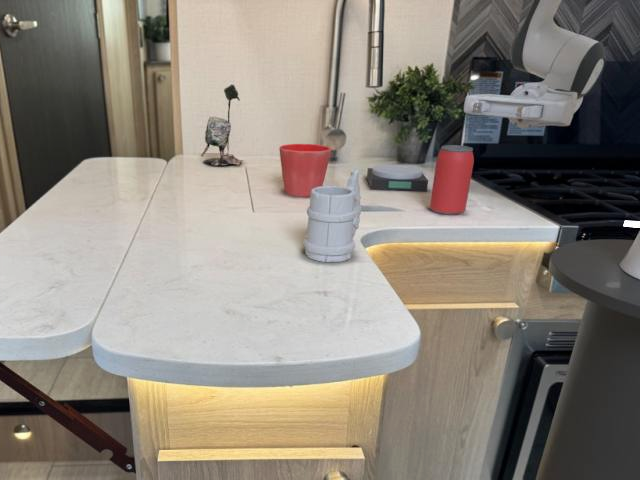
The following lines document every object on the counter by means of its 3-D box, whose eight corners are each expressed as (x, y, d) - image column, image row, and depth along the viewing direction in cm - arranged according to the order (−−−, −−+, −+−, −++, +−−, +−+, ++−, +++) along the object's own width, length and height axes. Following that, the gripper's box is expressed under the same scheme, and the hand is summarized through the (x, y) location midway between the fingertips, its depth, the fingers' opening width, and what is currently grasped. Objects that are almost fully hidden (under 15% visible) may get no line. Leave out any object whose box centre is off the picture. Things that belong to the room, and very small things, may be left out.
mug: (293, 255, 85) (296, 176, 80) (335, 237, 93) (340, 164, 88) (335, 267, 80) (342, 184, 75) (376, 247, 88) (384, 171, 83)
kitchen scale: (417, 179, 133) (419, 164, 132) (427, 191, 122) (429, 175, 120) (366, 178, 135) (368, 163, 133) (371, 190, 123) (372, 174, 122)
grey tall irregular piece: (208, 160, 155) (207, 83, 146) (247, 163, 151) (248, 84, 143) (197, 165, 148) (194, 85, 139) (237, 168, 144) (237, 86, 136)
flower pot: (309, 185, 128) (311, 141, 123) (337, 195, 119) (341, 149, 115) (269, 190, 123) (270, 144, 119) (295, 201, 114) (297, 153, 110)
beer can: (422, 210, 108) (431, 147, 103) (440, 204, 112) (449, 143, 107) (454, 217, 104) (465, 152, 99) (471, 211, 108) (482, 147, 103)
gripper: (486, 86, 121) (450, 89, 113) (586, 92, 107) (553, 96, 99) (481, 116, 124) (445, 121, 116) (578, 126, 110) (545, 133, 102)
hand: (496, 110), depth 107 cm, fingers open, 8 cm apart
